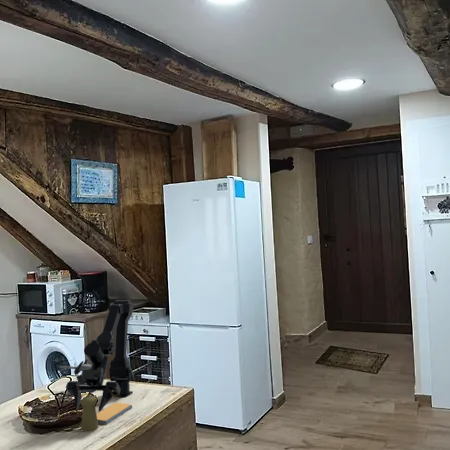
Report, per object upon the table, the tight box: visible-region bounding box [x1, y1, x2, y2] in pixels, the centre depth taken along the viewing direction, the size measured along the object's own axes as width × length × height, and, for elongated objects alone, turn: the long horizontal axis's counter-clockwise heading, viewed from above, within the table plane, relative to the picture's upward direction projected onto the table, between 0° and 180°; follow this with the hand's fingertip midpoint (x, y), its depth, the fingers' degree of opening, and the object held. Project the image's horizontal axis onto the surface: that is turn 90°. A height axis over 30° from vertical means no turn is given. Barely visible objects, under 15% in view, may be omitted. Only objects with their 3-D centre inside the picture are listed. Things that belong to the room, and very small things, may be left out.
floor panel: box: [96, 402, 133, 426], centre depth 194 cm, size 17×8×1 cm, turn 158°
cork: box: [80, 395, 99, 433], centre depth 181 cm, size 6×6×11 cm
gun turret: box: [58, 358, 96, 394], centre depth 225 cm, size 13×20×13 cm, turn 71°
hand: (87, 410), depth 180 cm, fingers open, 8 cm apart
